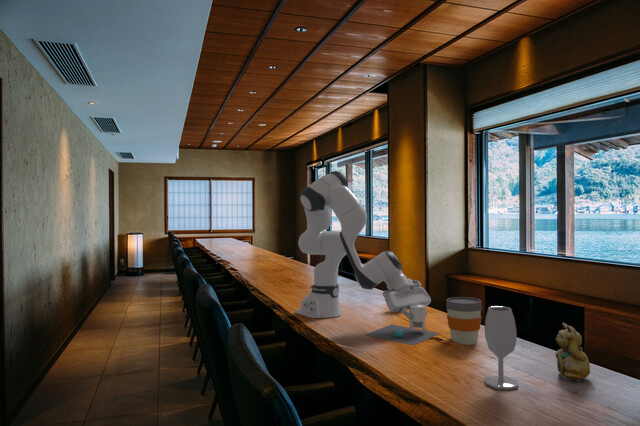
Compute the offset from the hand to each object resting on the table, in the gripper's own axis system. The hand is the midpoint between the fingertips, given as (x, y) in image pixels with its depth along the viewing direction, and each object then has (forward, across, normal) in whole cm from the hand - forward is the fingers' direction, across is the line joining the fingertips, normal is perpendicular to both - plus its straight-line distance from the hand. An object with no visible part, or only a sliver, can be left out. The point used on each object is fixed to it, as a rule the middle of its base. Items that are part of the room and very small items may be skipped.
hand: (418, 316), depth 176 cm
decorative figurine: (+46, +3, -36) cm, 58 cm away
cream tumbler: (+3, 0, +4) cm, 5 cm away
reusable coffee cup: (+16, +7, -6) cm, 19 cm away
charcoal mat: (+3, -6, +7) cm, 10 cm away
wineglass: (+40, -18, -30) cm, 53 cm away
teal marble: (+4, -10, +3) cm, 11 cm away
